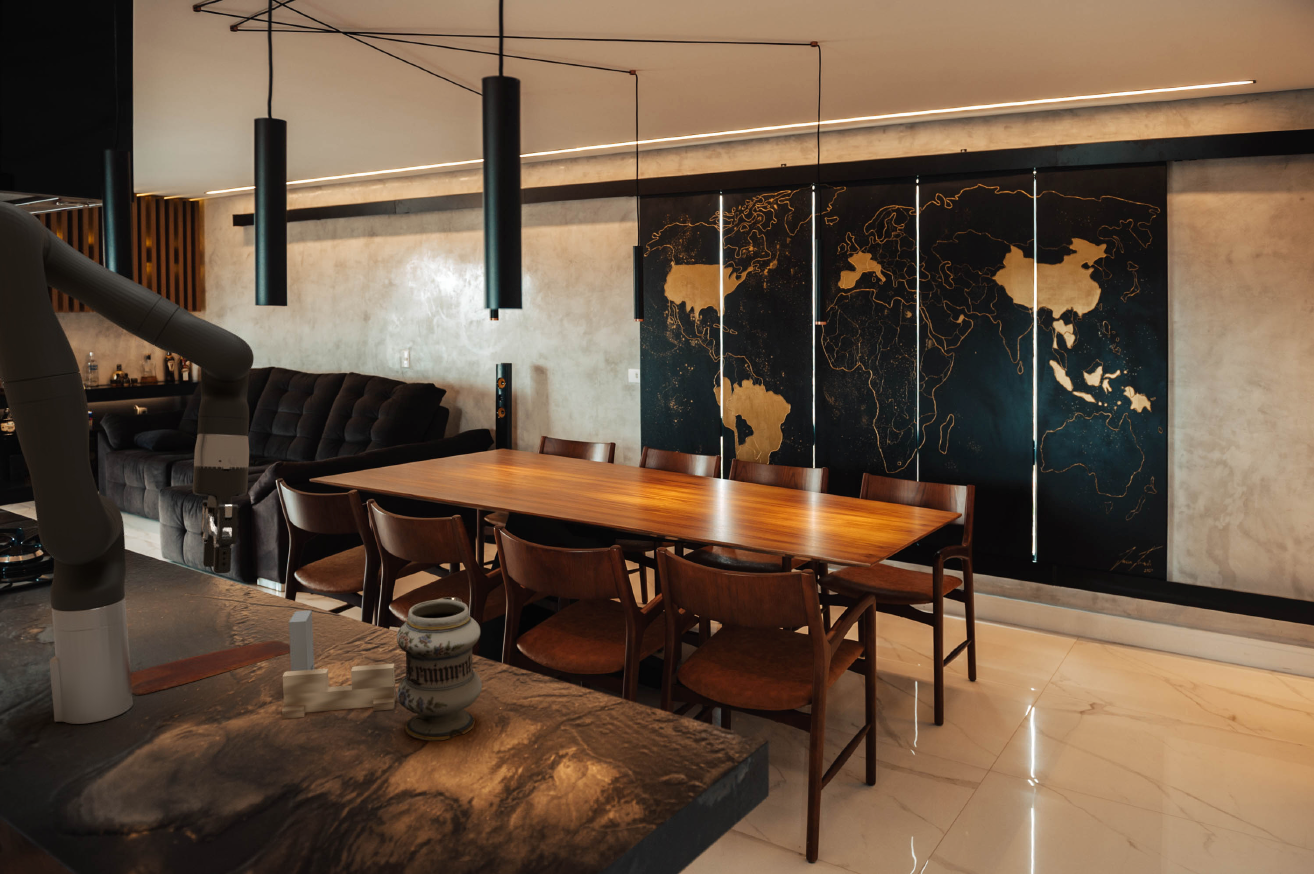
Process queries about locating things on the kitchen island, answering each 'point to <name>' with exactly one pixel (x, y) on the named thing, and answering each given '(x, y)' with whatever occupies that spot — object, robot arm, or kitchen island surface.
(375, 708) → the birch slotted board
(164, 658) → the kitchen island surface
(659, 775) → the kitchen island surface
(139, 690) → the wooden tablet
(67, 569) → the robot arm
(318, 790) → the kitchen island surface
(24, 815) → the kitchen island surface
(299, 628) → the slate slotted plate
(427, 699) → the apothecary jar
